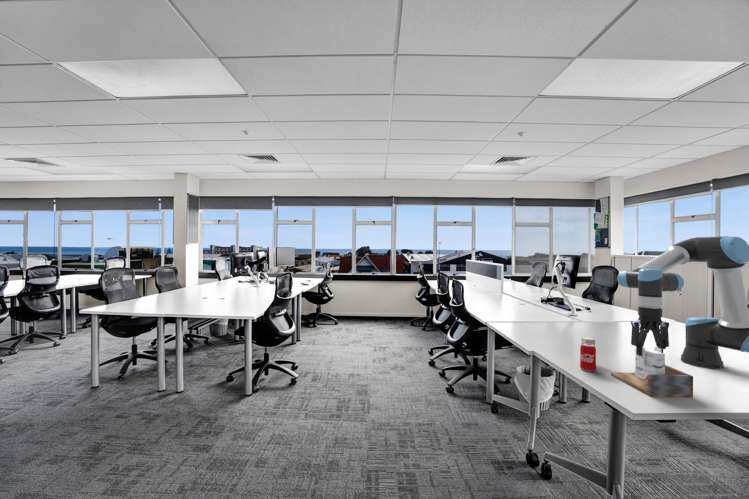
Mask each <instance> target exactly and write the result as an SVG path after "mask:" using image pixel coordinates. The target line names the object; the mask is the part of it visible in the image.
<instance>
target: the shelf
mask: <svg viewBox="0 0 749 499" xmlns="http://www.w3.org/2000/svg"><path fill="white" fill-rule="evenodd" d="M610 376H612V377H613V378H616V379H617V380H618V381H619V380H620V382H623V383H625V384H626V385H628V386H630V387H632V388H633V389H635V390H637V391H638V392H640V393H642V394H645V395H646V396H648V397H650V398H651V397H653V398H657V397H658V398H685V399H687V398H692V399H693V398H694V375H691V374H689V373H687V372H684V371H682V370H679V369H676V368H674V367H672V366H669V365H666V364H665V375H661V374H648V380H645V379H642V378H640V377H637V376H635V372H613V371H611V372H610Z"/></svg>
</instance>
